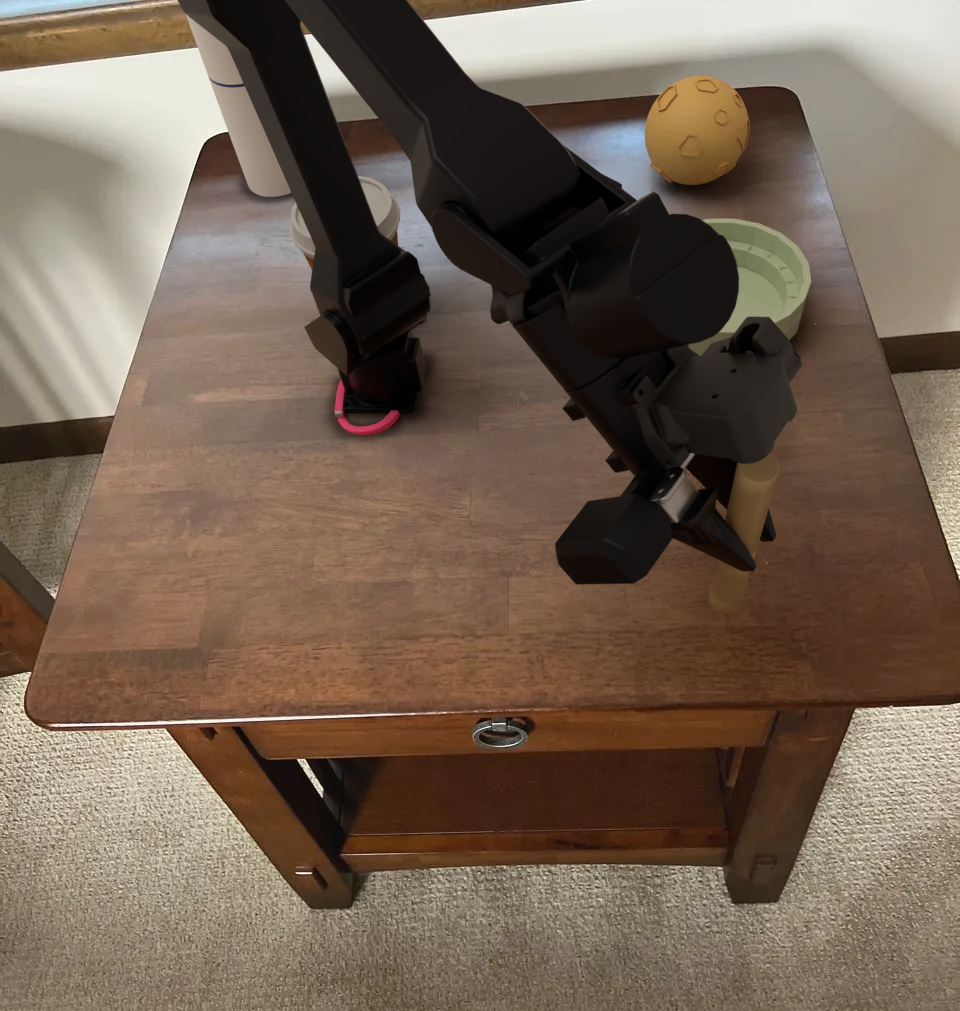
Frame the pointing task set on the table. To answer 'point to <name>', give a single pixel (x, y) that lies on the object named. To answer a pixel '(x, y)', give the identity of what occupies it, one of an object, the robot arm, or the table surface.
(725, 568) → the stick
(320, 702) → the table surface
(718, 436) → the robot arm
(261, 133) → the cylindrical container
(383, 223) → the disposable coffee cup
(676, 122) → the stress ball
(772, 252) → the bowl
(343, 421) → the fitness band
